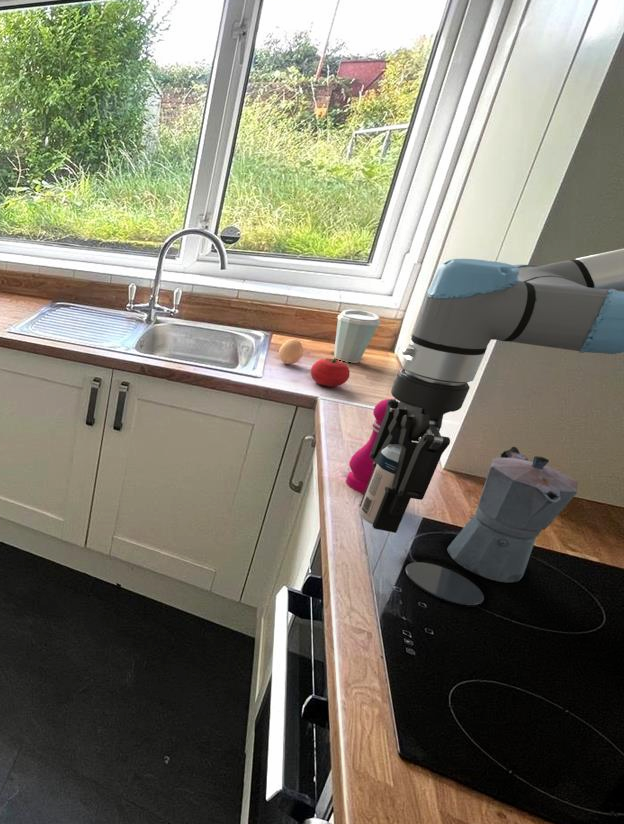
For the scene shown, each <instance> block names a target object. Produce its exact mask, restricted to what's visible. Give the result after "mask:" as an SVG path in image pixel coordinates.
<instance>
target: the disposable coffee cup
mask: <svg viewBox="0 0 624 824" xmlns="http://www.w3.org/2000/svg"><path fill="white" fill-rule="evenodd" d="M336 319H337V325H336V331H335V332H336V333H335V340H334V341H335V342H334V350H333V358H334V357H335V358H336V359H338V360H341V362H343V361H345V362H344V363H348V362H351V363H350V364H358V363H359V362H360V360H362V357H363V356H364V354H365V352H366V350H367V348H368V346H369V345H370V342H371V340H372V338H373V337H374V334H375V333H376V331H377V329H378V327H379V326H380V324H381V321H382V320H381V319H380V316H379V315H378V314H376V313H373V312H371V311H365V310H361V309H360V310H359V309H344V310H342V311H341V312H340V314H338V315H337V317H336Z"/></svg>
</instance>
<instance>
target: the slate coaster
mask: <svg viewBox="0 0 624 824" xmlns="http://www.w3.org/2000/svg"><path fill="white" fill-rule="evenodd" d="M404 573H405V575H406V577H407V578H408V580H409V581H410V582H411V583H412V584H413V585H415V586H416V587H417V588H418V589H420V590H421V591H423V590H424V591H423V592H424V593H426V592H427V593H426V594H428V593H429V594H428V595H430V594H431V595H430V596H432V595H433V596H432V597H434V596H435V597H434V598H436V597H437V598H436V599H438V598H440V599H439V600H441V599H444V600H445V601H444V602H446V601H449V602H452V603H456V604H460V605H459V606H461V605H467V606H466V607H470V606H471V605H478V604H480V605H482V604H483V602H484V600H485V596H484V593H483V592H482V590H481V589H480V588H479V587H478V586H477V585H476V584H475V583H473V582H472V581H471V580H469V579H468V578H466V577H465V576H463V575H461V574H459V573H457V572H455V571H453V570H451V569H448V568H446V567H443V566H440V565H437V564H433V563H428V562H422V561H421V562H419V561H417V562H416V561H415V562H410V563H409V564H406V567H405V568H404ZM449 602H448V603H449ZM452 603H451V604H452ZM456 604H455V605H456ZM478 606H479V605H478ZM471 607H472V606H471Z"/></svg>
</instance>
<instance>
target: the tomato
mask: <svg viewBox="0 0 624 824" xmlns="http://www.w3.org/2000/svg"><path fill="white" fill-rule="evenodd" d="M349 368H350V367H348V365H347V364H346V362H343V361H339V360H336V358H334V357H333V358H327V357H326V358H322V359H321V358H320V359H319V360H317V361H316V362H314V364H313V365H311V369H310V376H311V378H312V380H313V381H314V382H315V383H317V384H318V385H321V386H323V387H328V388H336V387H339V386H342V385H343V384H345V383H346V382H347V381H348V380H349V379H350V375H351V373H350V369H349Z"/></svg>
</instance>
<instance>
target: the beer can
mask: <svg viewBox="0 0 624 824" xmlns="http://www.w3.org/2000/svg"><path fill="white" fill-rule="evenodd" d="M401 448H402V446H401V445H399V444H389V445H388V446H387V447H386V448H384V449H383V450H382V451H381V455H380V457H379V460H378V462H377V465H376V468H375V470H374V473H373V476H372V478H371V481H370V483H369V486H368V489H367V491H366V494H365V497H364V499H363V502H362V504H361V507H360V506H359V510H358V515H359V516H360V517H361V518H362V519H363V520H364V521H365V522H367V523H369V524H371V525H373V522H374V520H375V517H376V515H377V512H378V510H379V507H380V505H381V502H382V500H383V497H384V495H385V492H386V491H385V487H389V488H392V484H393V480H394V476H395V472H396V468H397V464H398V460H399V456H400V452H401Z"/></svg>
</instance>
